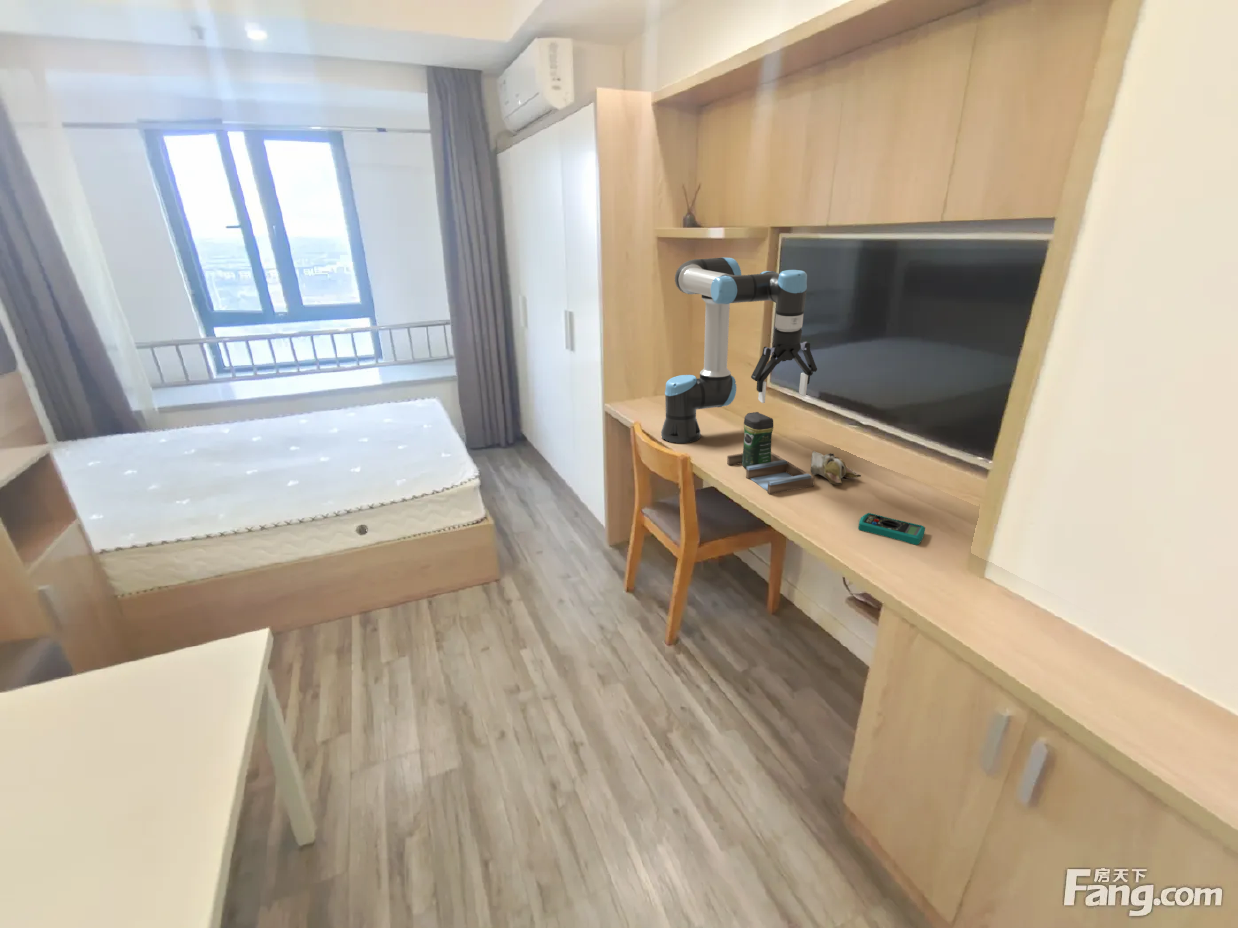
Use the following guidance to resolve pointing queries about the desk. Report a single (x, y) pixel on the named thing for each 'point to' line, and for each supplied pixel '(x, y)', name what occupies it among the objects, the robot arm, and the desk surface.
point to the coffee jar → (757, 439)
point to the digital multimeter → (892, 528)
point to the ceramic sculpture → (831, 467)
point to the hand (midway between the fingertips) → (782, 398)
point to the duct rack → (775, 474)
